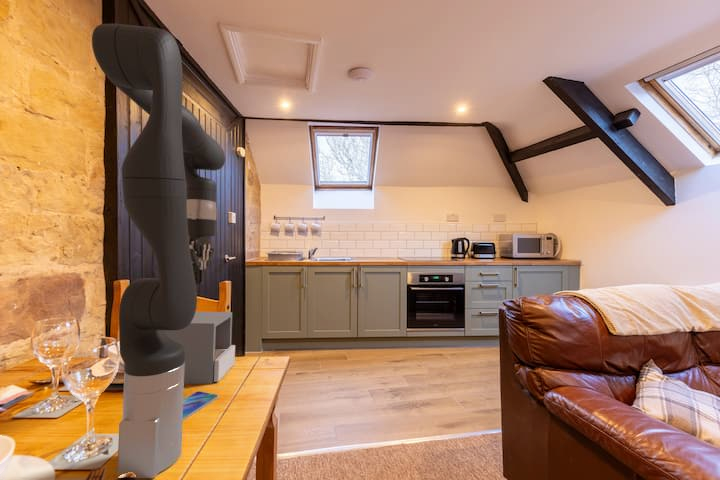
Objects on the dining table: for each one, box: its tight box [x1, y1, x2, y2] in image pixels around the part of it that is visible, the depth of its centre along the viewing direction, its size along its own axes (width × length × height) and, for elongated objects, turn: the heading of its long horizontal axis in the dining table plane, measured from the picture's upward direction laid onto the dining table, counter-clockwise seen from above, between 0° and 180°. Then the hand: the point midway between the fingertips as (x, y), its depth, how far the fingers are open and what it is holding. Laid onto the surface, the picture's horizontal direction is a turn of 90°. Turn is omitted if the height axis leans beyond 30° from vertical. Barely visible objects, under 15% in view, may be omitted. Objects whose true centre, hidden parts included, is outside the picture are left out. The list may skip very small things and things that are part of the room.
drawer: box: [213, 344, 236, 383], centre depth 92 cm, size 16×13×6 cm
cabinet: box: [164, 311, 233, 385], centre depth 92 cm, size 16×14×17 cm
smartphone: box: [183, 391, 219, 421], centre depth 72 cm, size 7×1×15 cm
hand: (198, 283), depth 80 cm, fingers closed
